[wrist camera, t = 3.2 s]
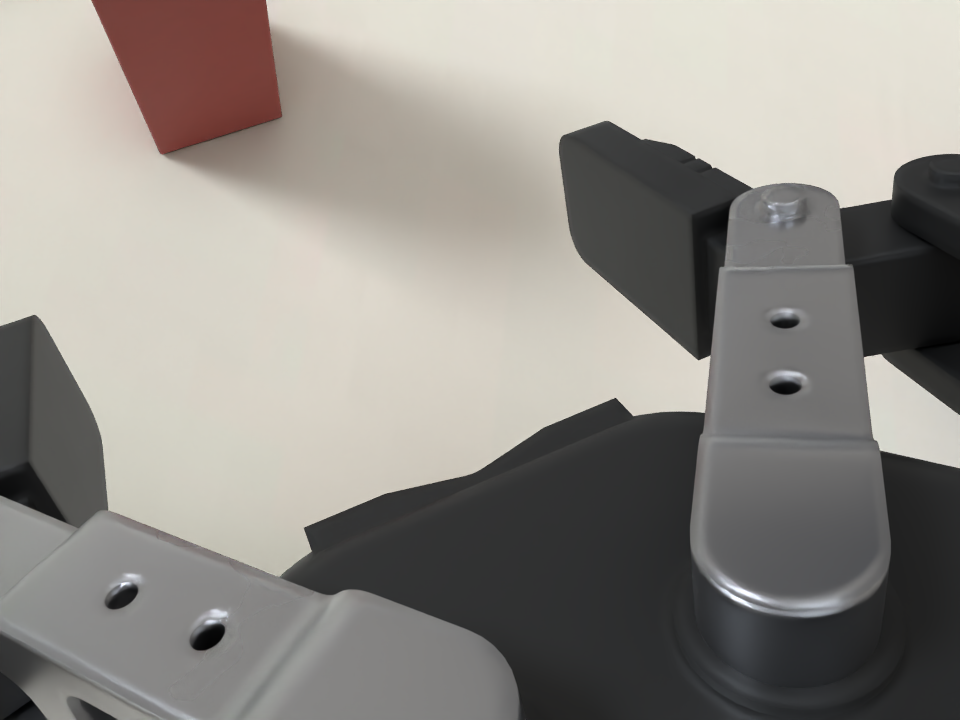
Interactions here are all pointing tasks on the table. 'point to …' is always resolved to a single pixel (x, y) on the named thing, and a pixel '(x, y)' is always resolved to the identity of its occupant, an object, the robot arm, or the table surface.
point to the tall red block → (195, 65)
